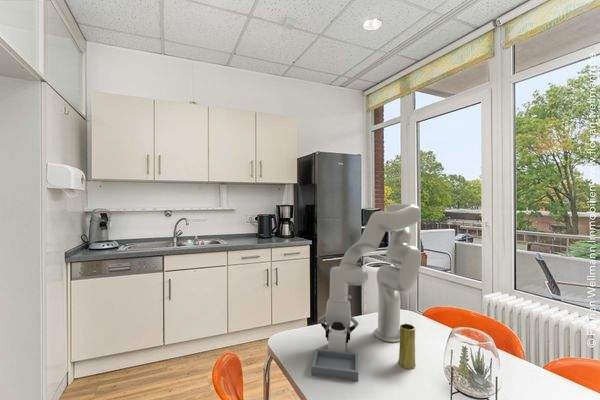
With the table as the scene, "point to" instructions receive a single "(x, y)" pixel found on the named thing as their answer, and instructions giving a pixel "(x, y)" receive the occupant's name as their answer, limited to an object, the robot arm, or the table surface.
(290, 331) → the table surface
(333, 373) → the tray
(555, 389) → the table surface
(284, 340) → the table surface
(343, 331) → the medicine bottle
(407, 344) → the vase
